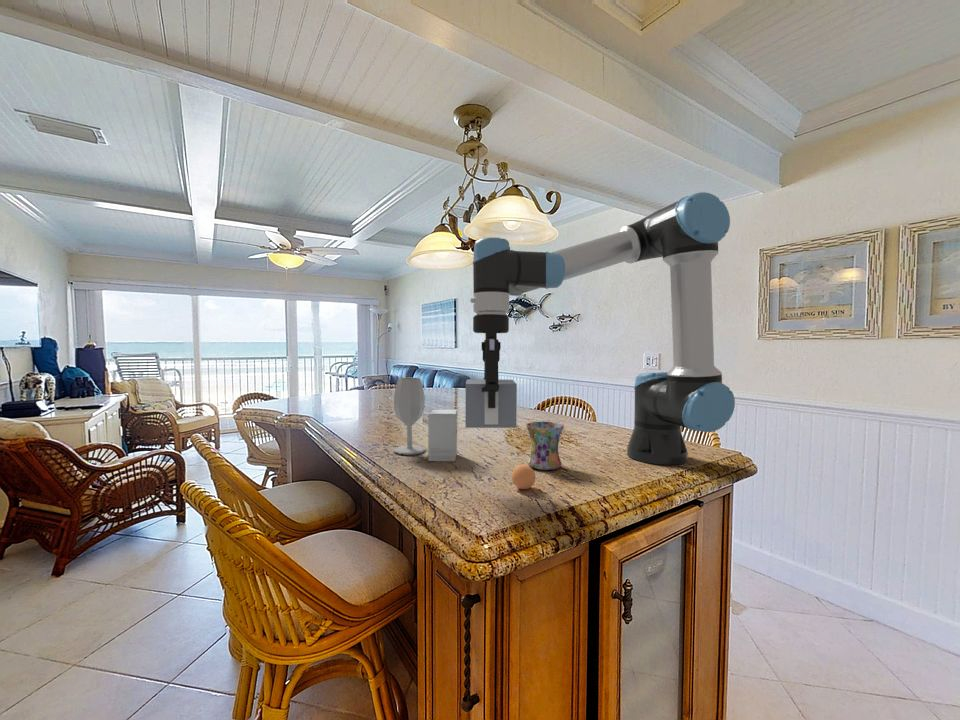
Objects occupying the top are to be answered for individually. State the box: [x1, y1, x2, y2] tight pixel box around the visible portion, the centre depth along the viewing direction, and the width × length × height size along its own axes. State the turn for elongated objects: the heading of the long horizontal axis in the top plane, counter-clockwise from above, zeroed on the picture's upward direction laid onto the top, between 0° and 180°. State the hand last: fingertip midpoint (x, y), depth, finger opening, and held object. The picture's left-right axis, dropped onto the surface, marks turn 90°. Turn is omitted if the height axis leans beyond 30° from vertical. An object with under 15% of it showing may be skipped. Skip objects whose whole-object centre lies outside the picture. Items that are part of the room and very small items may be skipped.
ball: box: [511, 464, 536, 490], centre depth 89 cm, size 5×5×5 cm
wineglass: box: [392, 376, 427, 456], centre depth 118 cm, size 9×9×21 cm
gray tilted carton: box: [465, 378, 518, 429], centre depth 88 cm, size 10×10×9 cm
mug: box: [525, 420, 565, 471], centre depth 106 cm, size 12×9×11 cm
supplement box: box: [427, 409, 458, 462], centre depth 112 cm, size 7×7×13 cm
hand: (490, 419), depth 89 cm, fingers closed on gray tilted carton, 10 cm apart
